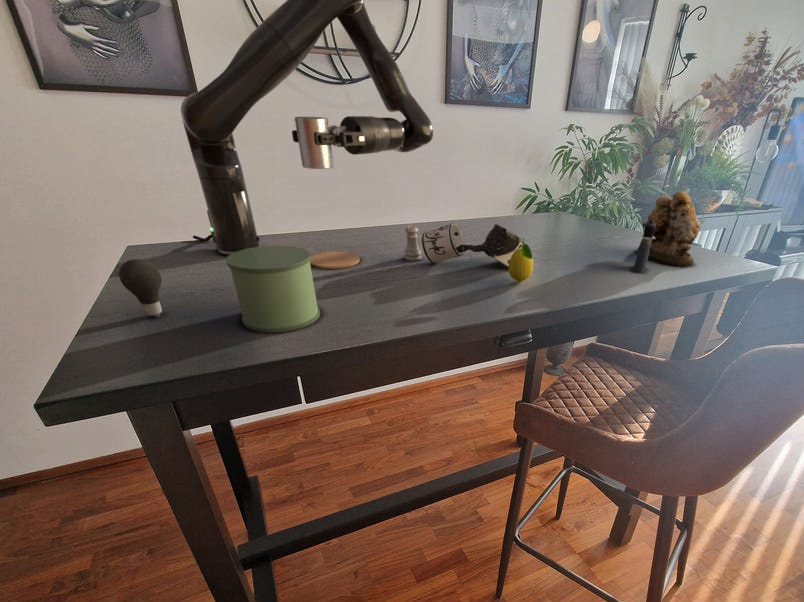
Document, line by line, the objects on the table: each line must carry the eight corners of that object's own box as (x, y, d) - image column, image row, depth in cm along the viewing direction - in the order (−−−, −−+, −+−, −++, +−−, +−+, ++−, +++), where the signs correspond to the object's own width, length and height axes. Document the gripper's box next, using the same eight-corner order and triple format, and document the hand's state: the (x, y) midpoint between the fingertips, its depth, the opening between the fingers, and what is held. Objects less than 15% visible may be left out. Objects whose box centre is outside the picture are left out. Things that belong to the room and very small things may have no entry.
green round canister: (226, 320, 77) (208, 258, 71) (286, 297, 87) (275, 241, 81) (277, 339, 72) (262, 274, 66) (335, 313, 82) (326, 254, 76)
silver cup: (295, 166, 93) (287, 116, 88) (318, 164, 98) (311, 116, 93) (317, 169, 91) (310, 118, 86) (340, 166, 95) (334, 118, 90)
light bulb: (147, 309, 80) (125, 254, 74) (180, 309, 80) (161, 254, 75) (129, 322, 75) (104, 264, 70) (164, 322, 76) (142, 265, 70)
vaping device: (645, 267, 113) (658, 219, 107) (643, 273, 109) (655, 223, 103) (635, 266, 114) (647, 218, 108) (632, 271, 110) (644, 222, 104)
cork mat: (297, 262, 105) (296, 260, 105) (334, 251, 114) (333, 248, 114) (334, 272, 101) (334, 269, 100) (369, 259, 110) (369, 257, 109)
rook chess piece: (423, 256, 113) (422, 224, 109) (419, 261, 110) (418, 228, 105) (406, 255, 114) (404, 223, 109) (402, 260, 110) (400, 227, 106)
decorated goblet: (421, 270, 105) (419, 226, 99) (424, 257, 113) (423, 217, 108) (526, 273, 106) (531, 230, 100) (522, 260, 114) (525, 220, 109)
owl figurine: (624, 250, 127) (638, 186, 118) (654, 246, 132) (669, 184, 122) (672, 269, 114) (692, 198, 104) (703, 264, 118) (725, 196, 109)
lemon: (528, 289, 96) (533, 243, 91) (503, 285, 98) (506, 239, 93) (536, 280, 102) (541, 236, 96) (511, 276, 103) (515, 232, 98)
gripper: (342, 114, 103) (278, 114, 91) (387, 118, 96) (325, 118, 84) (346, 150, 107) (286, 155, 95) (389, 156, 100) (330, 162, 88)
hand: (304, 137), depth 90 cm, fingers closed on silver cup, 6 cm apart
